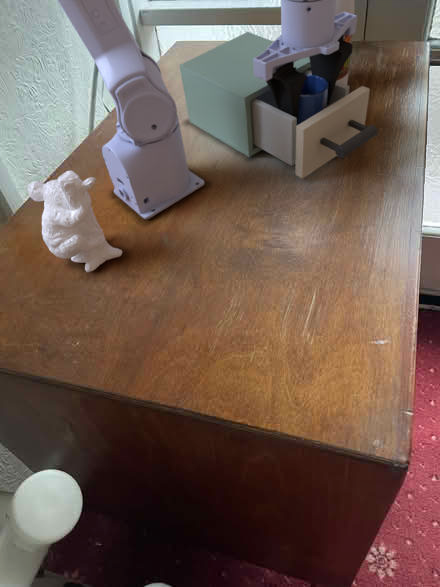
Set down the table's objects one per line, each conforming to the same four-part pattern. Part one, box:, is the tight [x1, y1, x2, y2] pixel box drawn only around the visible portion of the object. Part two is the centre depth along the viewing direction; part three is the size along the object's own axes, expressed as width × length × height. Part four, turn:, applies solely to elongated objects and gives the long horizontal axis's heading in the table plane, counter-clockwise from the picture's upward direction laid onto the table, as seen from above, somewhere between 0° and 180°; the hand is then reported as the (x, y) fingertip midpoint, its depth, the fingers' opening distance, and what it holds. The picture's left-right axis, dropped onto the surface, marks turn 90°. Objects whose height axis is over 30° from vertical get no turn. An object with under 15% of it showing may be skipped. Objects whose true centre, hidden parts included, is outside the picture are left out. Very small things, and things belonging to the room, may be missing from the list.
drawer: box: [250, 69, 379, 179], centre depth 59 cm, size 16×11×7 cm
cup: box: [297, 75, 329, 125], centre depth 58 cm, size 5×5×5 cm
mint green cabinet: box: [178, 31, 311, 158], centre depth 65 cm, size 14×13×9 cm
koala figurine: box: [27, 170, 123, 273], centre depth 49 cm, size 8×7×12 cm
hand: (304, 112), depth 58 cm, fingers closed on cup, 5 cm apart
